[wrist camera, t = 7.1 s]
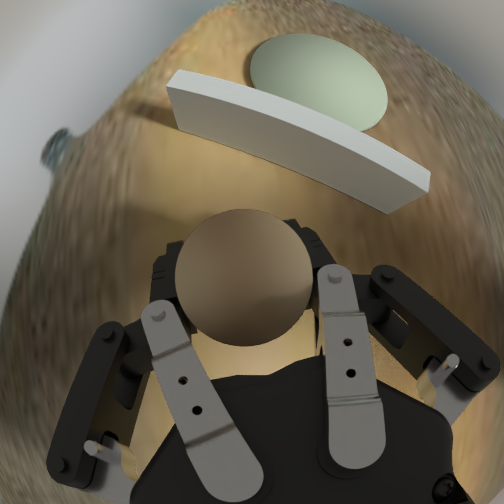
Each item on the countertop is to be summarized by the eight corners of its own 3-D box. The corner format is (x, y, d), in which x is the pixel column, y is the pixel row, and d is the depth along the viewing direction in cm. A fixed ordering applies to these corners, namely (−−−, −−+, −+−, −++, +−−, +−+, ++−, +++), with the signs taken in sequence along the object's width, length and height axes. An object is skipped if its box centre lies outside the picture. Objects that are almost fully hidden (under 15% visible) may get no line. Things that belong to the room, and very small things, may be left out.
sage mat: (353, 41, 21) (355, 37, 20) (404, 134, 19) (408, 130, 19) (237, 39, 20) (238, 35, 19) (269, 142, 18) (270, 137, 18)
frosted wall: (391, 197, 18) (430, 171, 14) (387, 214, 18) (428, 193, 13) (188, 114, 18) (178, 69, 13) (178, 130, 18) (165, 86, 13)
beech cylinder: (267, 240, 17) (295, 198, 9) (282, 311, 17) (324, 328, 9) (195, 254, 17) (165, 223, 9) (210, 327, 16) (191, 357, 8)
